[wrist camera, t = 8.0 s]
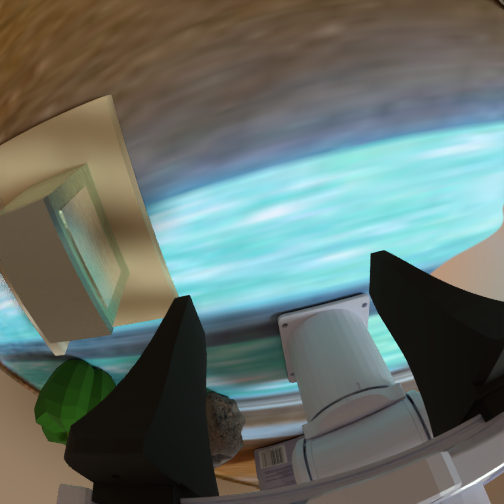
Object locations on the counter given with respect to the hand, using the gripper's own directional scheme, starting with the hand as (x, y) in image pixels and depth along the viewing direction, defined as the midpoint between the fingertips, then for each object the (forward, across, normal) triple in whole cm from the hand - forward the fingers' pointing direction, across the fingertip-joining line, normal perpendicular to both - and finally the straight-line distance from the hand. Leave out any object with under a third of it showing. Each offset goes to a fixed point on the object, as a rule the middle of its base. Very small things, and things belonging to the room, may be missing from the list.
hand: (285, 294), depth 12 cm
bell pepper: (+10, +20, +14) cm, 26 cm away
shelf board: (+10, +12, -1) cm, 16 cm away
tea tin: (+9, +12, -2) cm, 15 cm away
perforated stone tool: (+10, +10, +24) cm, 28 cm away
